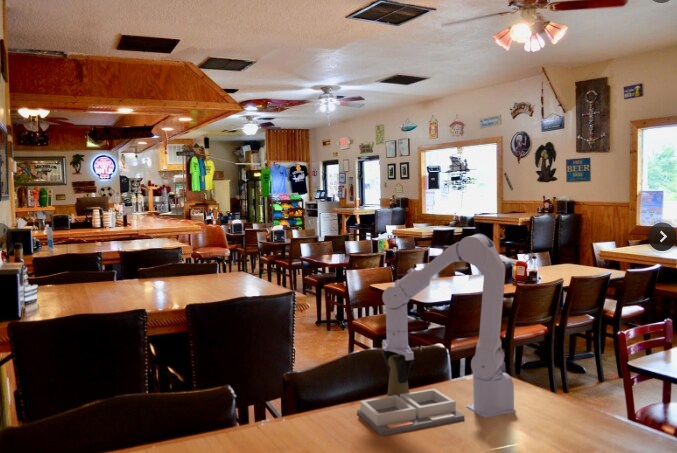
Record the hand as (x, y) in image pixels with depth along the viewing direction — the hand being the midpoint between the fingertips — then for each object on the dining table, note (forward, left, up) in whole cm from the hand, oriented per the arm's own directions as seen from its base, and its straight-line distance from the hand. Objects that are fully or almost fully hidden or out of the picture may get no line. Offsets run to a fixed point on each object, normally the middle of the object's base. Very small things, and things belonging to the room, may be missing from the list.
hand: (398, 379), depth 149 cm
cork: (0, 0, -5) cm, 5 cm away
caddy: (+4, +14, -4) cm, 15 cm away
